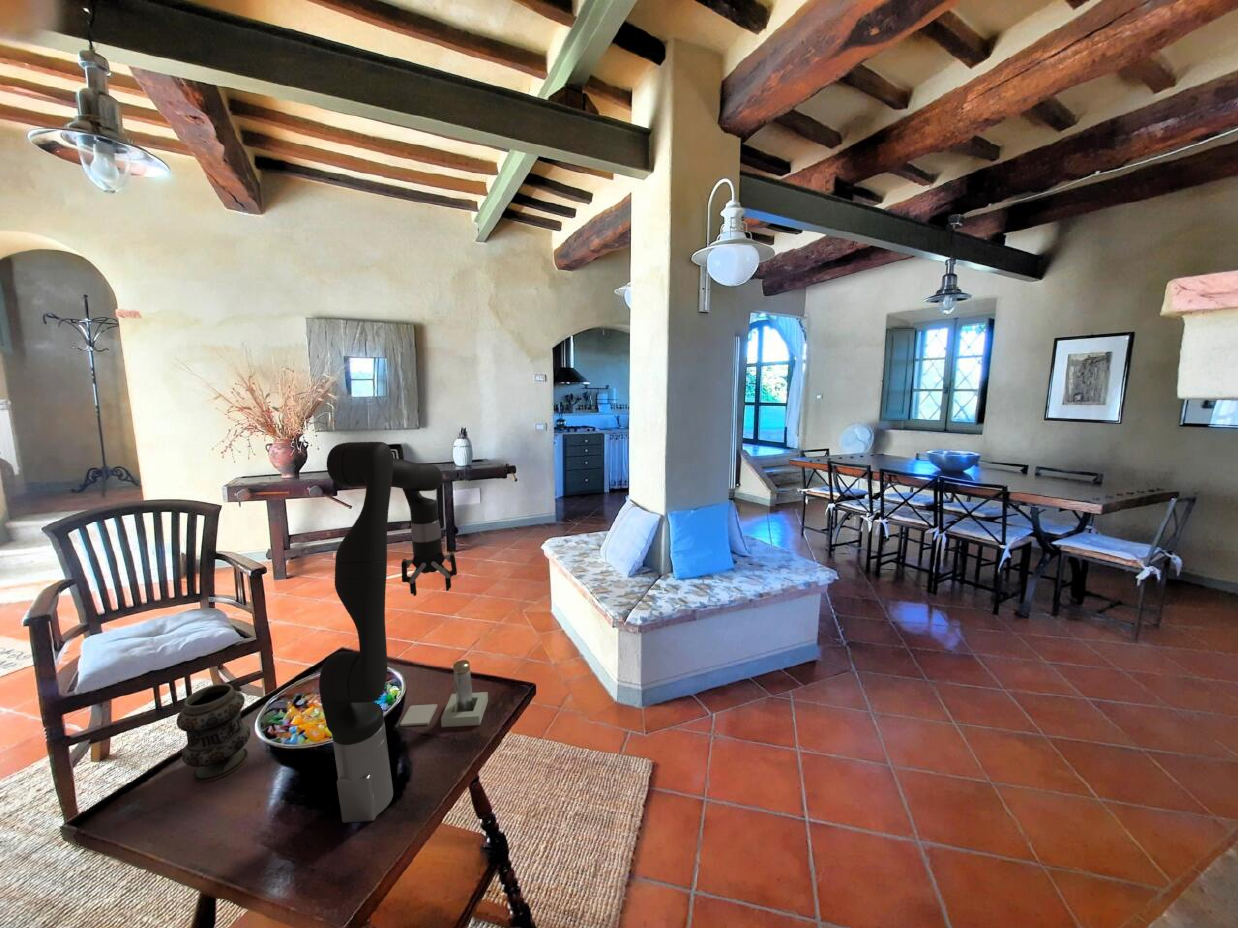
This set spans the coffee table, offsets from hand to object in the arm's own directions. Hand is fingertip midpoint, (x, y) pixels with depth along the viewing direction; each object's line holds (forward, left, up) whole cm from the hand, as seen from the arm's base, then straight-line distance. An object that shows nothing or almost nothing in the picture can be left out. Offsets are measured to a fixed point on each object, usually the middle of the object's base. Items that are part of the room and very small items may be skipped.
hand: (431, 592), depth 135 cm
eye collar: (-15, -11, -27) cm, 33 cm away
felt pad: (-15, +1, -27) cm, 31 cm away
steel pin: (-15, -11, -27) cm, 33 cm away
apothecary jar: (-28, +41, -28) cm, 57 cm away
